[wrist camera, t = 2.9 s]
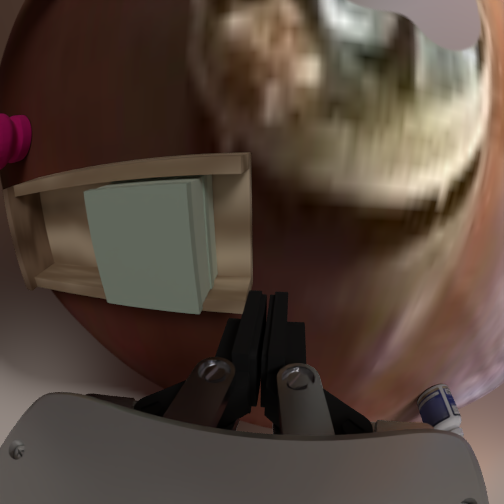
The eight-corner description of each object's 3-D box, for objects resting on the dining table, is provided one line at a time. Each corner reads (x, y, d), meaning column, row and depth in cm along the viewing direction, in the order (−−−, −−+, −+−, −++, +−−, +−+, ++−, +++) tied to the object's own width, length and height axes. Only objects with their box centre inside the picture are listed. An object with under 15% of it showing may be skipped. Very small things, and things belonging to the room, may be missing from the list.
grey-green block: (126, 177, 22) (83, 191, 16) (213, 171, 21) (186, 183, 15) (139, 269, 26) (107, 302, 20) (218, 274, 25) (199, 314, 19)
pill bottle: (412, 408, 32) (426, 457, 23) (421, 387, 30) (439, 440, 21) (441, 400, 31) (457, 445, 22) (452, 378, 29) (473, 427, 20)
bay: (39, 177, 24) (2, 189, 19) (250, 152, 21) (238, 156, 16) (57, 266, 29) (27, 289, 23) (252, 282, 26) (243, 321, 21)
